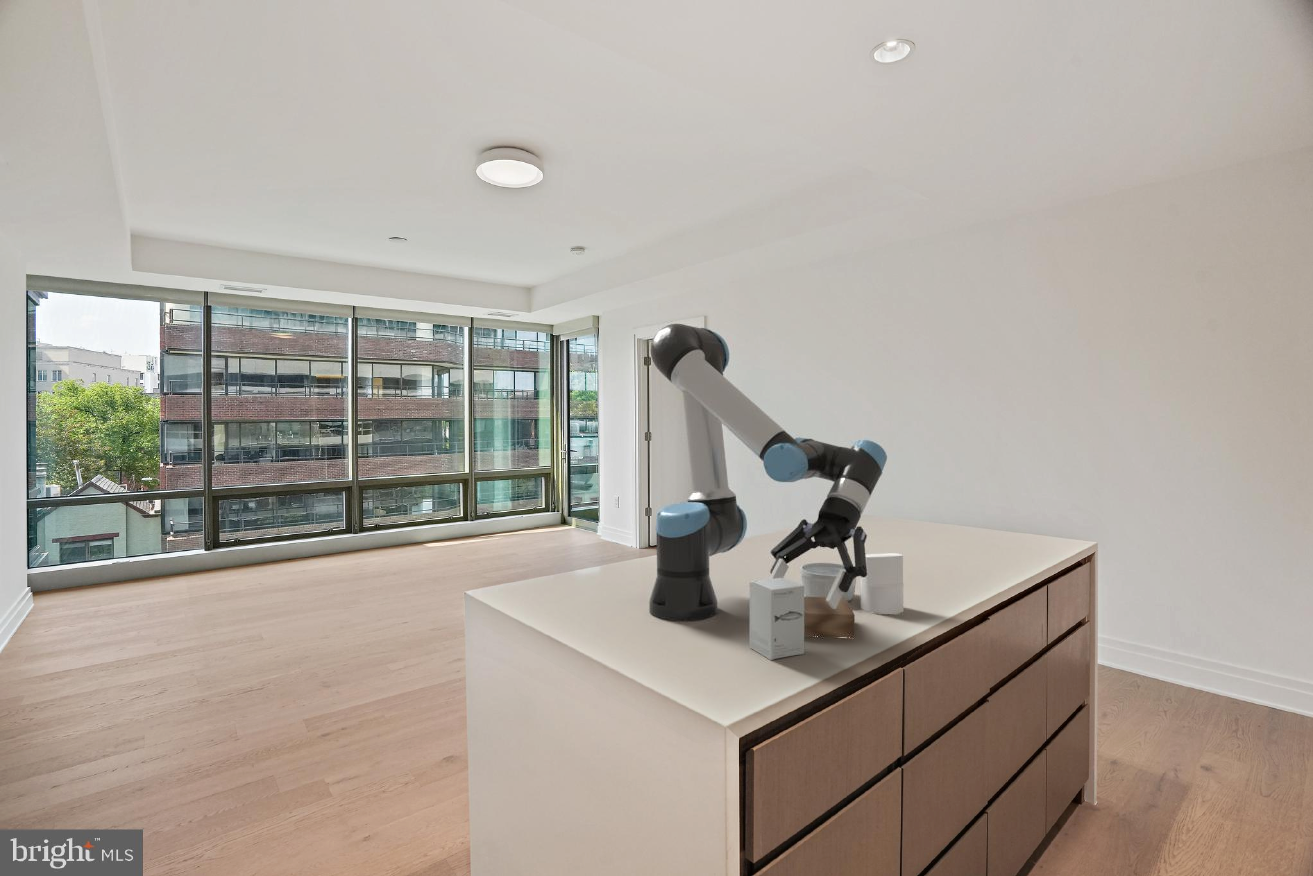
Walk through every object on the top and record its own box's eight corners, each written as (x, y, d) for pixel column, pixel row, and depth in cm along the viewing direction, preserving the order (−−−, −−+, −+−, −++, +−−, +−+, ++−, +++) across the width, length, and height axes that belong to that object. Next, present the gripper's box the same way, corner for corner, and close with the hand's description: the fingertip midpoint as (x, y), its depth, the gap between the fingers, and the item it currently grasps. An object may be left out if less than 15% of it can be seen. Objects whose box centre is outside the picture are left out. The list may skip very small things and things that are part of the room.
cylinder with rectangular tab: (872, 615, 138) (872, 560, 138) (853, 604, 147) (853, 551, 147) (911, 613, 140) (911, 558, 139) (890, 602, 149) (890, 550, 148)
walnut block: (791, 638, 126) (790, 612, 126) (787, 619, 138) (787, 596, 137) (854, 640, 124) (854, 614, 124) (845, 621, 136) (845, 597, 136)
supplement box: (771, 661, 113) (770, 589, 112) (748, 647, 120) (748, 580, 119) (805, 654, 116) (805, 585, 115) (781, 642, 123) (781, 576, 122)
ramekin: (864, 605, 146) (864, 575, 146) (806, 605, 147) (806, 575, 147) (848, 590, 160) (848, 562, 159) (795, 590, 160) (795, 562, 160)
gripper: (910, 525, 120) (868, 623, 111) (799, 512, 139) (756, 595, 130) (895, 500, 117) (850, 599, 107) (784, 490, 136) (737, 574, 126)
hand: (798, 597), depth 119 cm, fingers open, 13 cm apart
